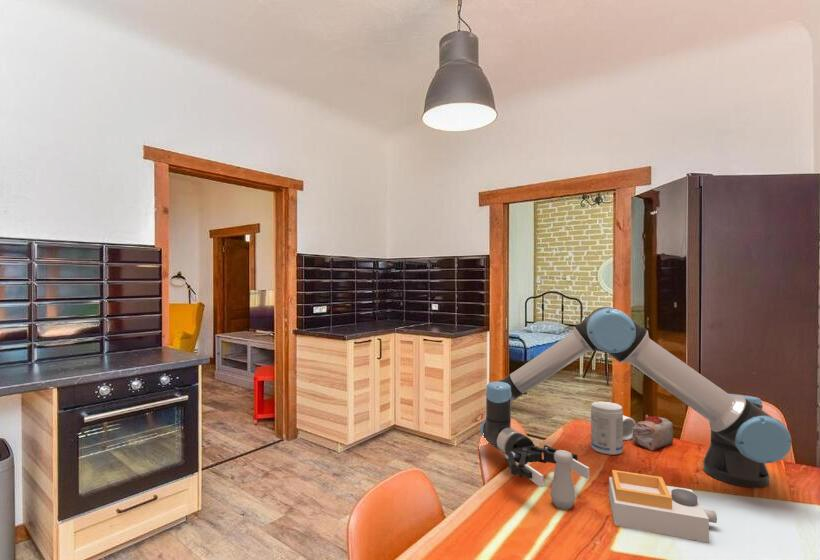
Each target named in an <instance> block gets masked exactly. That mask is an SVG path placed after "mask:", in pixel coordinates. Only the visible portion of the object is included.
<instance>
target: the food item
mask: <svg viewBox="0 0 820 560" xmlns="http://www.w3.org/2000/svg"><path fill="white" fill-rule="evenodd" d="M644 418H645V420H644V421H643V420H640V421H638V422H636V425H635V426H634V428H632V429H633V438H632V439H631V440H632V441H633V442H634V443H635V444H636V445H638V446H639V447H642V448H644V449H646V450H649V451H655V450H658V449H660V448H662V447H666V446H668V445H672V444H674V430H673V429H674V426H673V424H674V423H673V422H672V421H670V420H669V419H667V418H665V417H660V416H656V415H655V416H653V415H652V416H649V415H648V414H646V415H645V417H644Z"/></svg>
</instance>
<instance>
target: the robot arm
mask: <svg viewBox="0 0 820 560" xmlns="http://www.w3.org/2000/svg"><path fill="white" fill-rule="evenodd" d="M597 350H601V351H603V352H605V353H607V354H608V355H609V356H611V357H612V358H613V359H614V360H616V361H617V362H619V363H629V364H630V365H632V366H634V367H635V368H636V369H638V371H641V372H642V373H643V374H644V375H646V376H647V377H648V378H650V379H651V380H652V381H654V382H655V383H657V384H658V385H659V386H661V387H662V388H663V389H665V391H668V393H671V394H672V395H673V396H675V398H677V399H679V401H681V402H683V403H684V404H686V405H687V406H688V407H690V408H691V409H692V410H694V411H695V412H696V413H698V414H699V415H701V416H702V417H704V419H706V420H707V421H708V422H709V423H708V424H709V428H710V444H709V446H708V449H707V451H706V453H705V456H704V458H703V462H702V469H703V470H702V471H704V473H706V474H707V475H709V476H711V478H714V479H717V480H719V481H721V482H724V483H728V484H731V485H735V486H740V487H746V488H765V486H766V487H768V486H769V485H770V474H769V470H768V467H767V465H766V464H769V463H770V464H772V463H776V462H779V461H781V460H783V459H784V458H785V457H786V456H787V455H788V454H789V452H790V451H791V449H792V448H791V447H792V437H791V434H790V431H789V429H787V427H786V426H785V424H783V422H781V421H780V420H779V419H778V418H775V417H773V416H771V415H770V414H769V413H767V412H765V411H764V410H763V408H764V407H763V406H764V405H763V402H762V400H761V398H760V397H756V396H751V395H746V394H745V395H743V394H736V393H728V392H727V391H726V390H724V389H722V388H721V387H719V386H718V385H716V384H715V383H714V382H712V381H711V380H709V379H708V378H707V377H705V376H703V375H702V374H700V373H699V372H698V371H696V370H695V369H694V368H692V366H689V365H688V364H687V363H685V362H683V361H682V360H681V359H680V358H678V357H676V355H674V354H672V353H671V352H669V351H668V350H667V349H665V348H663V346H661V345H659V344H658V343H657V342H655V341H654V340H652V339H651V338H650V336H649V331H648V330H647V328H645V327H643V325H641V324H639V323H638V322H636V321H635V320H634V319H632V318H631V317H630V316H629V315H628V314H627V313H625V312H624V311H622V310H619V309H616V308H614V307H609V306H602V307H599V308H598V307H597V308H596V309H594V310H593V311H591V313H589V314H588V315H587V316H586V317H585V318H584V319H583V320H582V321H581V322H579V323H578V324H576V325H575V326H573V330H572V332H570V333H569V334H567V335H566V336H564V337H563V338H561V339H560V340H559V341H557V342H556V343H554V344H553V345H552V346H550V347H549V348H547V349H545V350H544V351H542V352H541V353H539V354H538V355H537V356H535V357H534V358H532V359H531V360H529V361H528V362H526V363H524V365H522V366H521V367H519V368H518V369H516V370H514V371H513V372H511V373H509V375H507V376H506V377H504V378H502V379H500V380H498V381H491V382H489V383H487V385H486V392H485V399H486V400H485V401H486V402H485V403H486V404H485V406H486V408H485V419H483V420H482V422H481V425H479V426H480V427H479V433H480V436H481V437H482V435H483V433H484V435H483V436H484V438H486V440H487V441H488V442H489V443H490V444H491V445H490V444H489V443H488V444H489V445H490V446H493V447H494V448H496V449H498V451H500V452H501V453H503V454H504V459H505V461H506V462H507V463H508V467H509V471H510V474H511V476H516V475H517V474H518V478H519V479H523V478H524V477H525V478H526V479H528V480H530V481H531V482H533V483H534V484H535V485H537V486H538V487H540V488H544V474H543V473H540V472H539V471H538V470H536V469H534V467H532V466H530V465H529V464H528V463H531V464H532V463H542V464H547V463H551V464H555V465H556V461H555V460H554V453H555V452H556V451H557V450H559V449H558V448H554V447H552V446H549V445H547V444H544V445H543V448H542V447H539V446H537V445H535V444H534V441H533V440H532V439H530V438H529V437H528V436H527V435H524V434H523V433H522V432H519V431H518V430H517V429H514V428H512V426H511V423H512V417H511V416H512V412H511V411H512V405H513V402H514V401H516V400H517V399H518V398H520V397H521V396H523V395H524V394H526V393H527V392H529V391H530V390H532V389H533V388H536V387H537V386H538V385H539V384H541V383H542V382H544V381H545V380H547V379H549V378H550V377H552V376H553V375H555V374H556V373H558V372H559V371H561V370H562V369H564V368H565V367H567V366H569V365H570V364H572V363H573V362H575V361H576V360H578V359H579V358H581V357H583V356H584V355H585V354H587V353H590V352H591V353H595V352H596V351H597ZM486 440H485V441H486ZM487 441H486V442H487ZM570 453H571V452H570ZM571 454H572V457H573V461H572V463H571V464H570V470H571V471H573V472H575V474H578V475H580V476H581V477H583V478H584V479H586V480H590V471H591V470H590V468H591V467H589V466H587V465H585V464H583V463H582V462H580V461H578V460H579V459H578V457H579V456H578V455H577V454H575V453H571ZM517 464H518V465H517ZM767 485H768V486H767Z"/></svg>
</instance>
